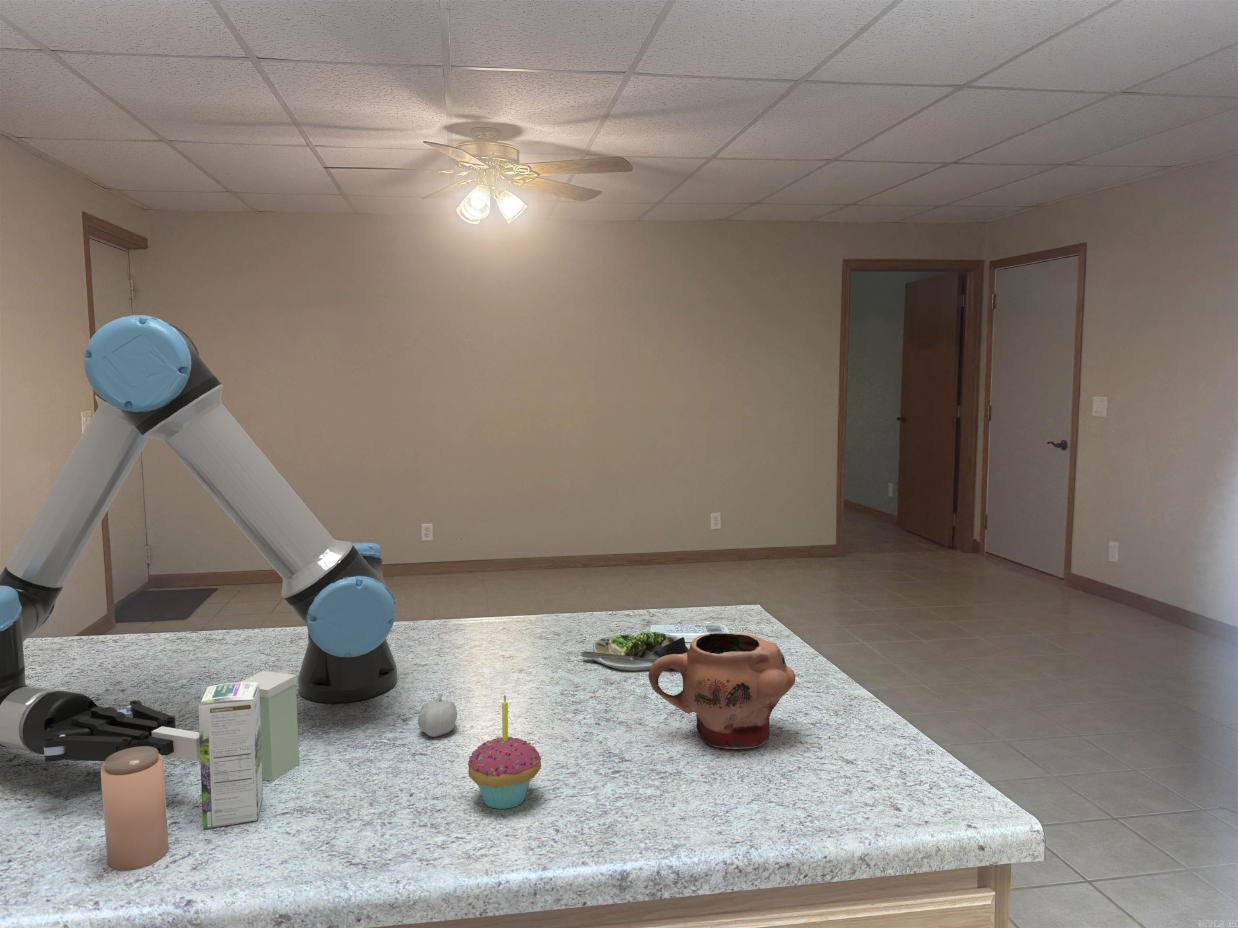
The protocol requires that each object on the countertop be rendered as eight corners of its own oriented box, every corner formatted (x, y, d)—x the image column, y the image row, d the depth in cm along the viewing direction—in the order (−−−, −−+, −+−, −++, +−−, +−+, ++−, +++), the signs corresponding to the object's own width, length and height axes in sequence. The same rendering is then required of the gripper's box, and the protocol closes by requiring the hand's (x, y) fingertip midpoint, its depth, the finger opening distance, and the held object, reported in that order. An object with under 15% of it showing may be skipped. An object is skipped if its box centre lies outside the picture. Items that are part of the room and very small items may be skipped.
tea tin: (267, 757, 110) (262, 670, 109) (300, 763, 109) (296, 675, 107) (238, 775, 105) (233, 685, 104) (272, 782, 104) (268, 689, 102)
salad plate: (586, 680, 138) (586, 653, 138) (574, 645, 156) (574, 621, 155) (700, 673, 141) (700, 647, 141) (676, 640, 159) (676, 616, 158)
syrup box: (210, 804, 98) (203, 684, 97) (265, 796, 100) (259, 679, 98) (202, 829, 93) (195, 703, 91) (260, 821, 95) (254, 697, 93)
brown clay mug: (656, 762, 109) (656, 658, 107) (642, 723, 121) (642, 629, 119) (806, 754, 111) (808, 651, 109) (778, 716, 123) (780, 623, 121)
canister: (169, 834, 92) (162, 740, 91) (168, 861, 87) (162, 761, 86) (109, 848, 89) (102, 751, 88) (105, 876, 84) (97, 773, 83)
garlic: (436, 720, 122) (435, 686, 121) (466, 727, 119) (466, 692, 119) (408, 737, 116) (407, 700, 116) (440, 744, 114) (439, 707, 113)
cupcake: (472, 783, 103) (470, 689, 102) (541, 780, 104) (540, 686, 103) (465, 820, 95) (463, 718, 93) (541, 816, 95) (540, 715, 94)
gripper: (98, 729, 110) (245, 753, 103) (-2, 774, 98) (157, 806, 91) (94, 673, 109) (241, 694, 102) (-8, 712, 97) (152, 739, 90)
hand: (201, 747), depth 96 cm, fingers closed
